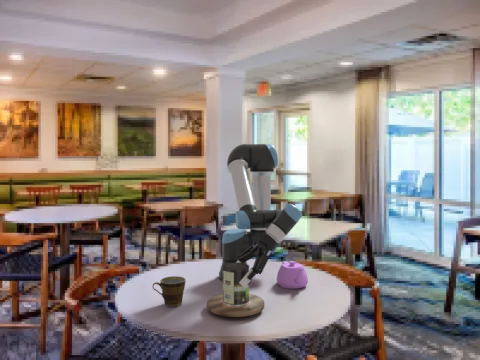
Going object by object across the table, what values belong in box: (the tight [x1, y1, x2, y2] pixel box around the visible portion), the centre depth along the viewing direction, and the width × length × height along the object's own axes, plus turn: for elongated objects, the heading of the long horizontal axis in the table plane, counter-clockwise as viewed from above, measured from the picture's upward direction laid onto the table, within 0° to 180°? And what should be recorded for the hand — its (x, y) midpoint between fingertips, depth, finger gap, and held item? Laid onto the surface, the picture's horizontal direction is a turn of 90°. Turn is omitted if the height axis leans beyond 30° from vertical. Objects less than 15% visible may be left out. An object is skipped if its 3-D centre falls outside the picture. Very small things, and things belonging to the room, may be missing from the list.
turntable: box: [206, 293, 265, 318], centre depth 157 cm, size 22×22×4 cm
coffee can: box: [222, 263, 250, 307], centre depth 156 cm, size 10×10×14 cm
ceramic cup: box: [151, 276, 186, 308], centre depth 162 cm, size 13×10×10 cm
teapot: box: [276, 260, 309, 290], centre depth 185 cm, size 13×20×11 cm
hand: (235, 280), depth 156 cm, fingers open, 13 cm apart
